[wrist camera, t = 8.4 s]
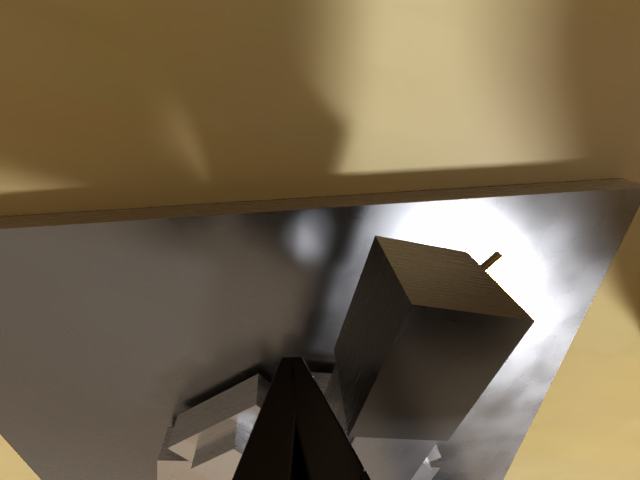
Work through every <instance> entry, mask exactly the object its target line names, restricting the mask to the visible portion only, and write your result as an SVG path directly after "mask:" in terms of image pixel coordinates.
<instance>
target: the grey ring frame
mask: <svg viewBox="0 0 640 480" xmlns="http://www.w3.org/2000/svg"><path fill="white" fill-rule="evenodd" d="M534 322H535V321H534V320H533V319H532V318H531V317H530V316H529V315H528V314H527V313H526V312H525V310H524V309H523V308H522V307H521V306H520V305H519V304H518V303H517V302H516V301H515V300H514V299H513V298H512V297H511V296H510V295H509V294H508V293H507V292H506V291H505V290H504V289H503V288H502V287H501V286H500V285H499V284H498V283H497V282H496V281H495V280H494V279H493V278H492V277H491V276H490V275H489V274H488V273H487V272H486V271H485V270H484V269H483V268H482V267H481V266H480V265H479V264H478V263H477V261H476V260H475V259H474V258H473V257H472V256H471V255H470V254H469V253H468V252H465V251H460V250H454V249H449V248H443V247H437V246H432V245H426V244H421V243H415V242H410V241H404V240H398V239H393V238H387V237H382V236H376V235H375V237H374V240H373V243H372V245H371V248H370V251H369V254H368V256H367V259H366V262H365V265H364V267H363V270H362V273H361V276H360V278H359V281H358V284H357V287H356V289H355V292H354V295H353V298H352V301H351V303H350V306H349V309H348V312H347V314H346V317H345V320H344V323H343V325H342V328H341V331H340V334H339V336H338V339H337V342H336V345H335V347H334V354H335V360H336V364H335V367H334V369H333V372H332V373H320V372H311V373H312V375H313V377H314V379H315V381H316V382H317V384H318V386H319V388H320V389H321V391H322V393H323V395H324V397H325V398H326V400H327V402H328V404H329V406H330V407H331V409H332V411H333V413H334V414H335V416H336V418H337V420H338V422H339V423H340V425H341V427H342V429H343V431H344V432H345V434H346V436H347V438H348V439H349V441H350V443H351V445H352V447H353V448H354V450H355V452H356V454H357V456H358V457H359V459H360V461H361V463H362V464H363V466H364V471H367V473H368V475H369V477H370V478H371V480H432V478H433V477H434V476H435V474H436V473H437V472H438V470H439V469H440V468H441V467H440V465H439V462H438V460H437V459H438V458H441V455H440V453H439V450H438V448H437V445H436V443H437V442H438V441H448V440H449V439H450V437H451V436H452V435H453V433H454V432H455V431H456V429H457V428H458V426H459V425H460V424H461V422H462V421H463V419H464V418H465V417H466V415H467V414H468V413H469V411H470V410H471V408H472V407H473V406H474V404H475V403H476V402H477V400H478V399H479V397H480V396H481V395H482V393H483V392H484V391H485V389H486V388H487V386H488V385H489V384H490V382H491V381H492V379H493V378H494V377H495V375H496V374H497V373H498V371H499V370H500V368H501V367H502V366H503V364H504V363H505V362H506V360H507V359H508V357H509V356H510V355H511V353H512V352H513V351H514V349H515V348H516V346H517V345H518V344H519V342H520V341H521V340H522V338H523V337H524V335H525V334H526V333H527V331H528V330H529V328H530V327H531V326H532V324H533V323H534ZM269 387H270V383H269V382H268V381H267V380H265V379H264V378H263V377H262V376H261V375H260V374H257V375H255V376H253V377H251V378H249V379H247V380H245V381H243V382H241V383H239V384H237V385H235V386H233V387H231V388H230V389H228V390H226V391H224V392H222V393H220V394H218V395H216V396H214V397H212V398H210V399H208V400H206V401H204V402H202V403H200V404H198V405H196V406H194V407H192V408H190V409H189V410H187V411H185V412H183V413H181V414H179V415H178V416H177V419H176V422H175V426H174V427H168V429H167V432H166V435H165V438H164V442H163V445H162V448H161V451H160V454H159V457H158V460H157V480H232V478H233V476H234V473H235V471H236V468H237V466H238V463H239V461H240V458H241V456H242V454H243V451H244V449H245V446H246V444H247V441H248V439H249V436H250V434H251V431H252V429H253V426H254V424H255V421H256V419H257V416H258V414H259V411H260V409H261V406H262V404H263V402H264V399H265V397H266V394H267V392H268V389H269Z"/></svg>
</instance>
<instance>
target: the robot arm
mask: <svg viewBox="0 0 640 480" xmlns="http://www.w3.org/2000/svg"><path fill="white" fill-rule="evenodd" d="M232 480H371V478H370V477H369V475H368V473H367V471H364V466H363V464H362V463H361V461H360V459H359V457H358V456H357V454H356V452H355V450H354V448H353V447H352V445H351V443H350V441H349V439H348V438H347V436H346V434H345V432H344V431H343V429H342V427H341V425H340V423H339V422H338V420H337V418H336V416H335V414H334V413H333V411H332V409H331V407H330V406H329V404H328V402H327V400H326V398H325V397H324V395H323V393H322V391H321V389H320V388H319V386H318V384H317V382H316V381H315V379H314V377H313V375H312V373H311V372H310V370H309V368H308V366H307V364H306V363H305V361H304V359H303V358H302V357H301V356H291V357H282V358H281V360H280V362H279V364H278V367H277V369H276V372H275V374H274V377H273V379H272V382H271V384H270V387H269V389H268V392H267V394H266V397H265V399H264V402H263V404H262V406H261V409H260V411H259V414H258V416H257V419H256V421H255V424H254V426H253V429H252V431H251V434H250V436H249V439H248V441H247V444H246V446H245V449H244V451H243V454H242V456H241V458H240V461H239V463H238V466H237V468H236V471H235V473H234V476H233V478H232Z"/></svg>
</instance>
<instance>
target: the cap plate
mask: <svg viewBox="0 0 640 480" xmlns="http://www.w3.org/2000/svg"><path fill="white" fill-rule="evenodd" d="M639 205H640V184H638V183H635V182H632V181H629V180H626V179H623V178H618V179H602V180H586V181H570V182H554V183H538V184H522V185H506V186H490V187H474V188H457V189H441V190H425V191H409V192H393V193H377V194H361V195H345V196H329V197H313V198H297V199H281V200H265V201H248V202H232V203H216V204H200V205H184V206H168V207H152V208H136V209H120V210H104V211H88V212H72V213H56V214H39V215H23V216H7V217H0V434H1V435H2V437H3V438H4V439H5V440H6V441H7V442H8V443H9V444H10V445H11V447H12V448H13V449H14V450H15V451H16V452H17V453H18V454H19V455H20V457H21V458H22V459H23V460H24V461H25V462H26V463H27V464H28V465H29V467H30V468H31V469H32V470H33V471H34V472H35V473H36V474H37V475H38V477H39V478H40V479H41V480H157V460H158V457H159V454H160V451H161V448H162V445H163V442H164V438H165V435H166V432H167V429H168V427H174V426H175V422H176V419H177V416H178V415H179V414H181V413H183V412H185V411H187V410H189V409H190V408H192V407H194V406H196V405H198V404H200V403H202V402H204V401H206V400H208V399H210V398H212V397H214V396H216V395H218V394H220V393H222V392H224V391H226V390H228V389H230V388H231V387H233V386H235V385H237V384H239V383H241V382H243V381H245V380H247V379H249V378H251V377H253V376H255V375H257V374H260V375H261V376H262V377H263V378H264V379H265V380H267V381H268V382H269V383H270V384H271V382H272V379H273V377H274V374H275V372H276V369H277V367H278V364H279V362H280V360H281V358H282V357H291V356H301V357H302V358H303V359H304V361H305V363H306V364H307V366H308V368H309V370H310V372H320V373H332V372H333V369H334V367H335V364H336V360H335V354H334V347H335V345H336V342H337V339H338V336H339V334H340V331H341V328H342V325H343V323H344V320H345V317H346V314H347V312H348V309H349V306H350V303H351V301H352V298H353V295H354V292H355V289H356V287H357V284H358V281H359V278H360V276H361V273H362V270H363V267H364V265H365V262H366V259H367V256H368V254H369V251H370V248H371V245H372V243H373V240H374V237H375V235H376V236H382V237H387V238H393V239H398V240H404V241H410V242H415V243H421V244H426V245H432V246H437V247H443V248H449V249H454V250H460V251H465V252H468V253H469V254H470V255H471V256H472V257H473V258H474V259H475V260H476V261H477V263H478V264H479V265H480V266H481V267H482V268H483V269H484V270H485V271H486V272H487V273H488V274H489V275H490V276H491V277H492V278H493V279H494V280H495V281H496V282H497V283H498V284H499V285H500V286H501V287H502V288H503V289H504V290H505V291H506V292H507V293H508V294H509V295H510V296H511V297H512V298H513V299H514V300H515V301H516V302H517V303H518V304H519V305H520V306H521V307H522V308H523V309H524V310H525V312H526V313H527V314H528V315H529V316H530V317H531V318H532V319H533V320H534V321H535V322H534V323H533V324H532V326H531V327H530V328H529V330H528V331H527V333H526V334H525V335H524V337H523V338H522V340H521V341H520V342H519V344H518V345H517V346H516V348H515V349H514V351H513V352H512V353H511V355H510V356H509V357H508V359H507V360H506V362H505V363H504V364H503V366H502V367H501V368H500V370H499V371H498V373H497V374H496V375H495V377H494V378H493V379H492V381H491V382H490V384H489V385H488V386H487V388H486V389H485V391H484V392H483V393H482V395H481V396H480V397H479V399H478V400H477V402H476V403H475V404H474V406H473V407H472V408H471V410H470V411H469V413H468V414H467V415H466V417H465V418H464V419H463V421H462V422H461V424H460V425H459V426H458V428H457V429H456V431H455V432H454V433H453V435H452V436H451V437H450V439H449V440H448V441H438V442H437V443H436V445H437V448H438V450H439V453H440V455H441V458H438V459H437V460H438V462H439V465H440V467H441V468H440V469H439V470H438V472H437V473H436V474H435V476H434V477H433V478H432V480H503V479H504V477H505V475H506V473H507V471H508V469H509V467H510V465H511V463H512V461H513V459H514V457H515V455H516V453H517V451H518V449H519V447H520V445H521V443H522V441H523V439H524V437H525V435H526V433H527V431H528V429H529V427H530V425H531V423H532V421H533V419H534V417H535V415H536V413H537V411H538V409H539V407H540V405H541V403H542V401H543V399H544V397H545V395H546V393H547V391H548V389H549V387H550V385H551V383H552V381H553V379H554V377H555V374H556V372H557V370H558V368H559V366H560V364H561V362H562V360H563V358H564V356H565V354H566V352H567V350H568V348H569V346H570V344H571V342H572V340H573V338H574V336H575V334H576V332H577V330H578V328H579V326H580V324H581V322H582V320H583V318H584V316H585V314H586V312H587V310H588V308H589V306H590V304H591V302H592V300H593V298H594V296H595V294H596V292H597V290H598V288H599V286H600V284H601V282H602V280H603V278H604V276H605V274H606V272H607V270H608V268H609V266H610V264H611V262H612V260H613V258H614V256H615V254H616V252H617V250H618V248H619V246H620V244H621V242H622V240H623V238H624V236H625V234H626V232H627V230H628V228H629V226H630V224H631V222H632V220H633V218H634V216H635V214H636V212H637V210H638V208H639Z"/></svg>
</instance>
